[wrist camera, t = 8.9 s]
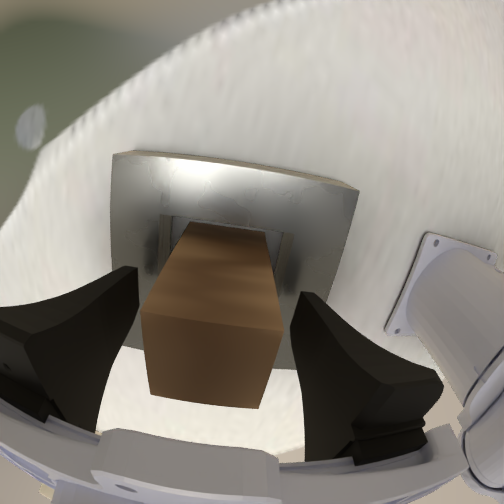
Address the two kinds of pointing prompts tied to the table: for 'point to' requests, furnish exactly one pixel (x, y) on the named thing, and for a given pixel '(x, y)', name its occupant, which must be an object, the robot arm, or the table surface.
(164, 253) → the collar
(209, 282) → the peg
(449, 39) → the table surface
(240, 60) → the table surface
